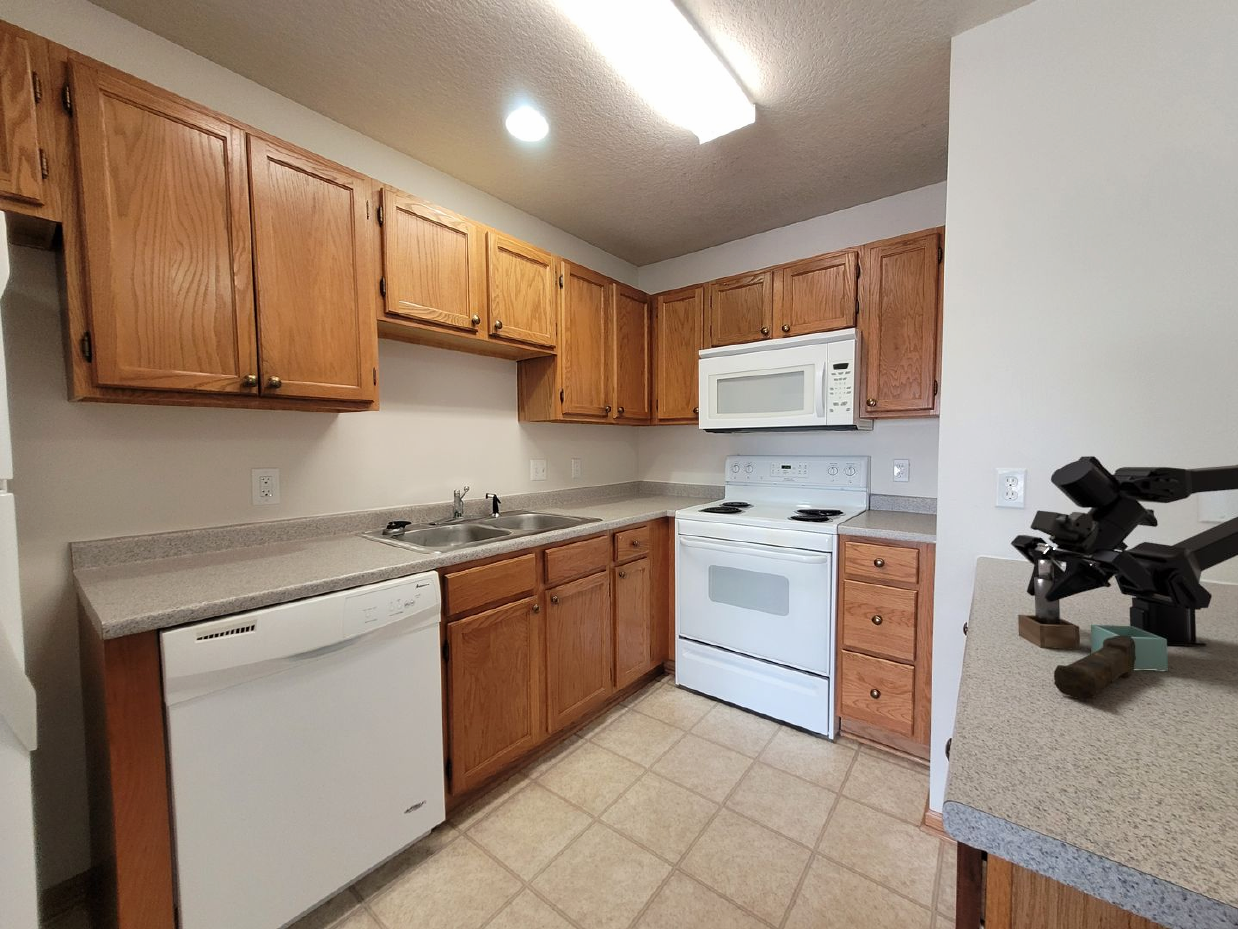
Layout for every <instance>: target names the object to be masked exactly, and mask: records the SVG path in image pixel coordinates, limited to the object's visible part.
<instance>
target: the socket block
mask: <svg viewBox="0 0 1238 929" xmlns="http://www.w3.org/2000/svg"><path fill="white" fill-rule="evenodd" d="M1017 619H1018V621H1017V622H1018V623H1017V624H1018V636H1020V637H1021V638H1022V639H1025V640H1026V639H1027V640H1026V641H1028V642H1030V643H1032V644H1034V645H1035V644H1036V646H1037V645H1038V646H1037V647H1039V646H1040V647H1039V648H1042V647H1056V648H1055V649H1067V648H1075V649H1074V650H1081V636H1080V635H1081V634H1080V630H1081V629H1080V626H1079V625H1076V624H1074V623H1072V622H1070V621H1067V620H1065V619H1063V618H1061V617H1060V625H1048V624H1040V623H1038V622H1036V621H1035V614H1018V615H1017Z"/></svg>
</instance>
